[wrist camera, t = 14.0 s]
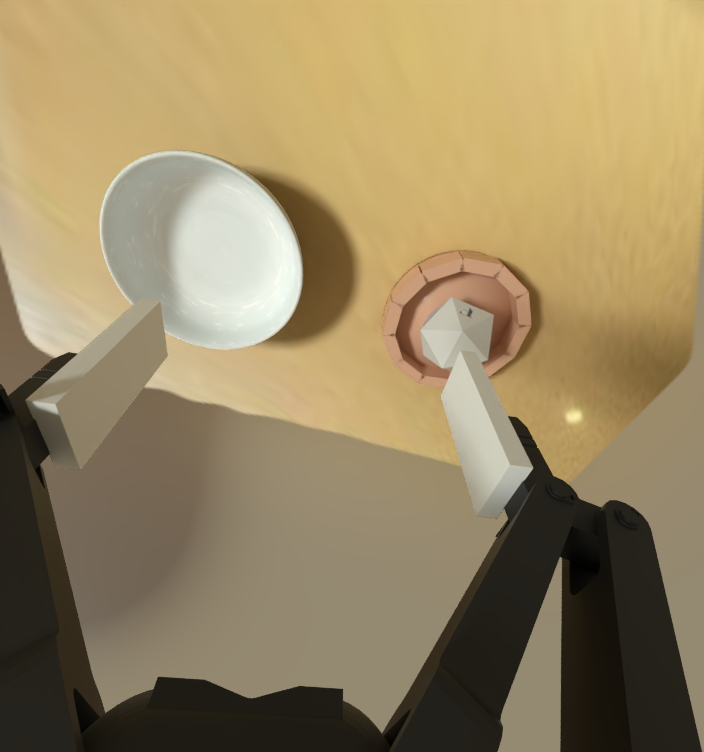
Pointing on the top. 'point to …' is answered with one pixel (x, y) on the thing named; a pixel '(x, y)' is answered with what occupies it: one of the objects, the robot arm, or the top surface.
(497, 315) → the tray
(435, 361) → the die
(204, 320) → the serving bowl
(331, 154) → the top surface
